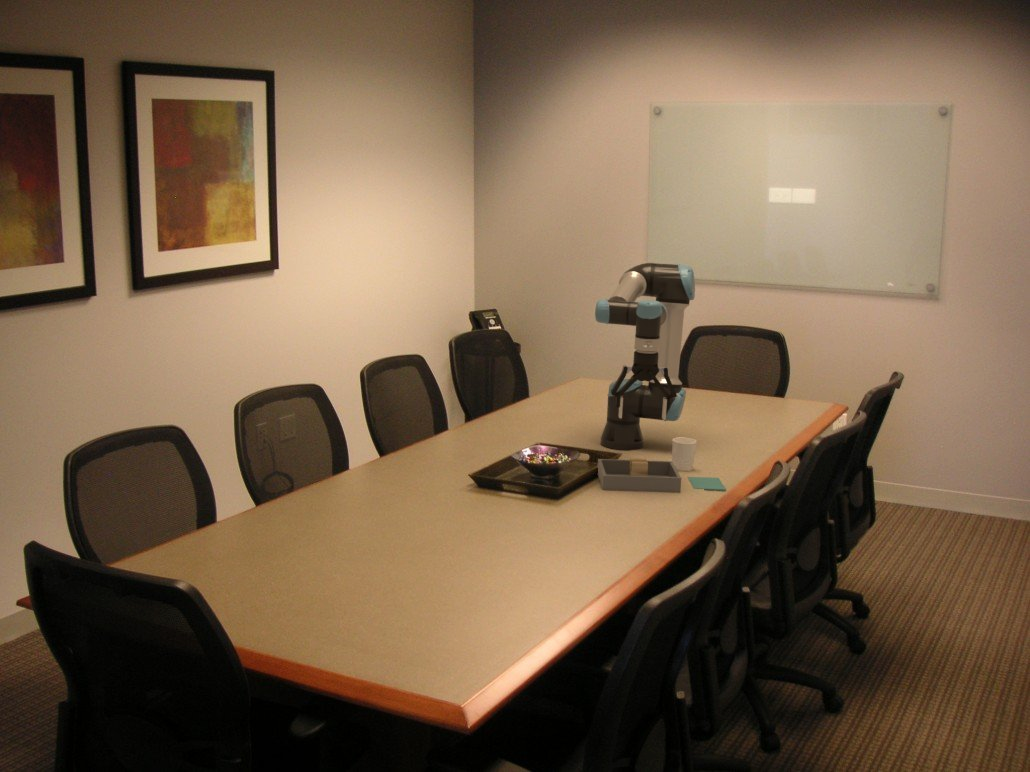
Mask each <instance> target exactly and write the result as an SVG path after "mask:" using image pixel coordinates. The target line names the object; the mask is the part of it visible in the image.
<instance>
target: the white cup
mask: <svg viewBox="0 0 1030 772" xmlns="http://www.w3.org/2000/svg"><path fill="white" fill-rule="evenodd" d="M671 441H672V444H671V446H672V447H671V461H672V462H673V464H674V466H675V467H676V469H677V471H679V472H681V471H682V472H690V471H693V469H694V463H695V457H696V450H697V439H694V438H691V437H685V436H678V437H674V438H672V440H671Z"/></svg>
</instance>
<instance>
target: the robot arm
mask: <svg viewBox="0 0 1030 772" xmlns="http://www.w3.org/2000/svg"><path fill="white" fill-rule="evenodd" d="M695 294H696V281H695V274H694V270H693V268H692V267H691V266H689V265H684V264H673V263H672V264H671V263H653V262H647V263H640V264H638V265H637V264H636V265H635V266H633V267H631V268H629V269H628V270H626V271H625V272H624V273H623V274H622V275H621V276H620V278H619V280H618V286H617V287H616V288H615V290H614V291H613V293H612V294H611V295H610V297H609V299H607V298H605V299H603V298H602V299H598V300H597V301H596V303H595V304H596V305H595V310H594V311H595V312H594V317H595V318H594V319H595V322H597V323H599V324H600V323H601V324H606V325H619V326H620V325H622V326H632V327H635V335H634V336H635V337H634V346H633V347H634V348H633V349H634V350H635V351H634V352H633V360H632V362H633V364H632V366H628V365H626V364H624V365H622V369H621V373H620V374H619V376H618V377H617V380H615V381H612V382H611V383H610V384H609V386H608V391H607V392H608V393H607V408H606V409H607V412H606V423H605V425H604V428H603V431H602V433H601V436H600V441H599V442H600V445H601V446H603V447H605V448H609V449H613V450H622V451H632V450H638V449H642V448H643V447H644V437H643V433H642V429H641V425H640V422H641V420H640V419H647V420H657V421H664V422H668V421H669V422H677V421H678V420H680V417H681V415H682V412H683V410H684V409H683V408H684V404H685V400H686V393H687V389H685V388H684V387H683V382H682V381H681V380H680V378H679V373H680V361H681V350H682V340H683V339H682V338H683V330H684V329H683V327H684V317H685V310H686V308H688V307H689V306H690V302H691V301H693V300H694V299H695ZM640 297H650V298H655V300H654V299H643V300H639V301H637V299H638V298H640ZM630 372H632V375H631V377H630V378H627V379H626V376H627V374H629V373H630ZM643 382H648V383H647V384H644V383H643Z"/></svg>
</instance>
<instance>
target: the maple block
mask: <svg viewBox="0 0 1030 772" xmlns="http://www.w3.org/2000/svg"><path fill="white" fill-rule="evenodd" d="M629 460H630V471H629V476H647V473H648V462H647V461H648V460H647V458H636V457H635V458H633V457H631V458H629Z"/></svg>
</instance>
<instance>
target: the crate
mask: <svg viewBox="0 0 1030 772" xmlns="http://www.w3.org/2000/svg"><path fill="white" fill-rule="evenodd" d="M647 462H648V473H647V476H629V471H630V459H611V458H598V459H597V468H598V473H597V476H598V480H599V482H600V486H601V489H602V491H624V492H650V493H652V492H657V493H681V487H682V476H681V475H680V473H679V472H678V471H679V470H677V469H676V467H675V466H674V464H673V461H672V460H670V461H669V460H647Z"/></svg>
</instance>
